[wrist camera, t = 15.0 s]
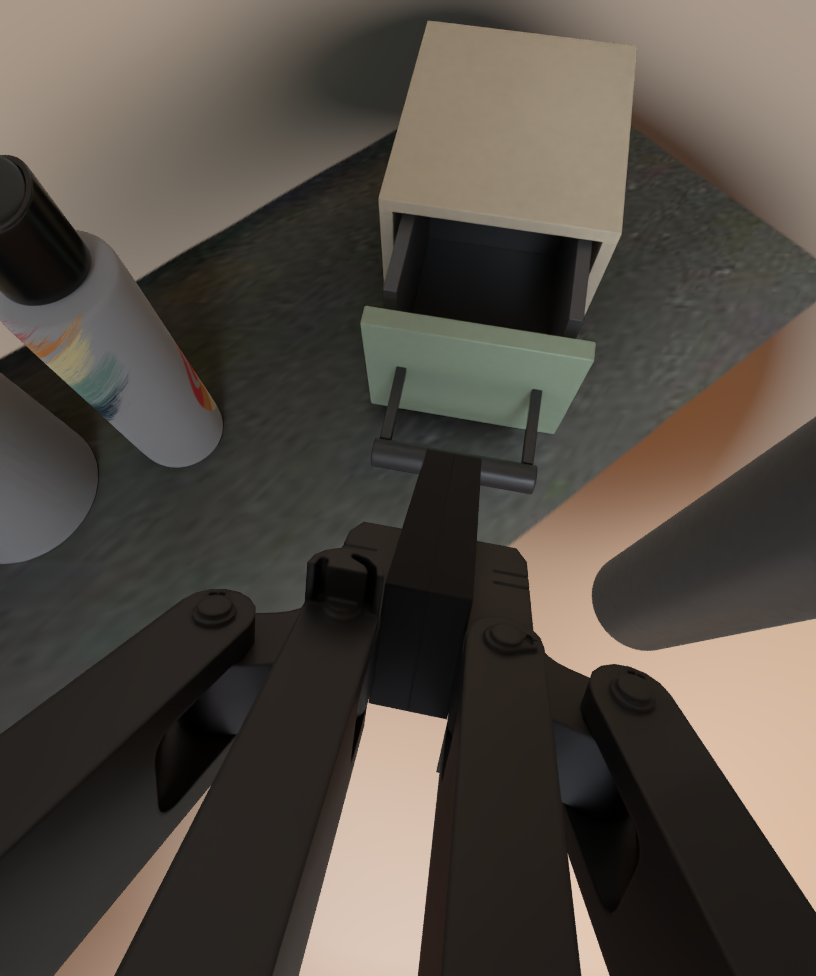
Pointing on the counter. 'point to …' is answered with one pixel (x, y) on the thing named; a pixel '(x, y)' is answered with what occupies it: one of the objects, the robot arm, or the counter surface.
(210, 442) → the lotion bottle
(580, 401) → the counter surface
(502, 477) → the drawer
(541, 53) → the cream rectangular box
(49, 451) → the coffee mug
